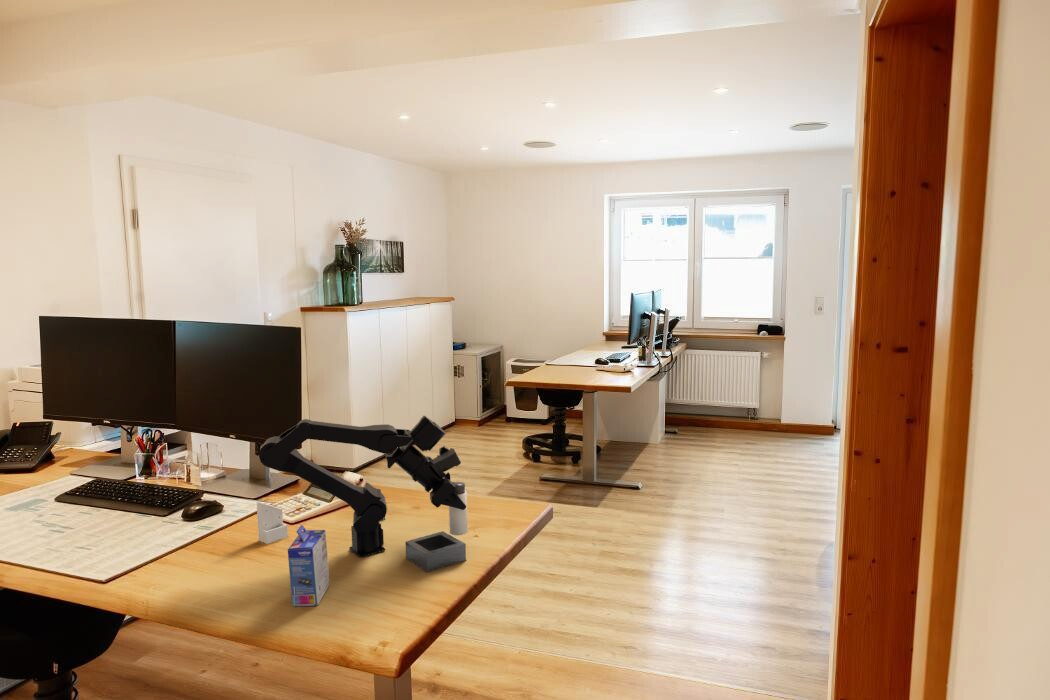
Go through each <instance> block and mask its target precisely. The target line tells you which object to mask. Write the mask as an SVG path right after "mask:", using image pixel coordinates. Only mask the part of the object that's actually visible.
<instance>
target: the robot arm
mask: <svg viewBox="0 0 1050 700" xmlns="http://www.w3.org/2000/svg"><path fill="white" fill-rule="evenodd" d="M444 436H446V432H445V430H444V429H443V428H442V427H441V426H440V425H439V424H437V423H436V422H435V421H433V420H431V419H430V418H428V417H427V416H426V415H422V417H421V418H420V419H419V421H418V422H417V423H416V424H415V426H414V427H412V429H411V430H410V429H404V428H403V429H401V428H396V427H395V426H393V425H391V424H373V425H365V426H364V425H363V426H357V425H348V424H341V423H334V422H333V423H332V422H325V421H316V420H315V421H314V420H311V419H308V418H307V419H306V418H305V419H302V420H299V422H298V423H297V424H295V425H294V426H292V427H291V428H289V429H287V430H286V431H284V432H282V433H281V434H280V435H279V436H275V435H274V436H272V437H269V438H268V439H266V440H265V441H264V443H263V444H262V446H261V448H260V450H259V453H258V458H259V461H260V463H261V464H262V465H263V466H264V467H266V468H269V469H272V470H275V471H277V472H283V473H288V474H293V475H295V476H297V477H299V478H301V479H302V480H304V481H306V482H308V483H309V484H311V485H313V486H316V488H319V489H321V490H323V491H324V492H327V493H329V495H332V496H333V497H335V498H337V499H340V500H341V501H342V502H345V503H346V504H347V505H348V506H350V508H351V509H352V510H353V513H352V515H353V516H352V517H353V518H352V520H353V521H352V525H351V546H350V547H349V549H348V550H350V551H351V553H354V554H355V555H356V556H358V557H359V558H364V557H368V556H370V555H375V554H377V553H381V552H385V551H386V548H385V547H384V544H385V542H384V529H383V528H382V523H380V522H381V521H383V520H382V519H383V518H384V517H385V518H386V515H387V511H388V508H387V500H386V497H385V495H384V494H383V493H382V489H380V488H376V487H374V486H373V485H372V484H370V483H369V482H367V481H366V482H365V485H364V486H359V485H356V484H353V483H352V482H349V481H348V480H346V479H344V478H343V477H341V476H339V475H337V474H335V473H334V472H331V471H330V470H328V469H326V468H324V467H322V466H320V465H319V464H318V463H315V462H314V461H312V460H310V459H308V458H307V457H305V456H303V454H301V453H300V451H299V450H297V448H298V447H299V446H301V445H302V444H303V443H305V442H306V441H307V440H313V441H323V442H332V443H341V444H348V445H357V446H361V447H364V448H365V449H368V450H371V451H374V452H376V453H377V452H378V453H381V454H385V459H386V467H387V469H391V468H392V467H393V466H394V464H396V465H397V466H398V467H399V468H401V469H402V470H403V471H404V472H406V473H407V474H408V475H409V476H410V477H411V480H413V481H414V482H415V483H416V482H417V483H419V484H420V485H421V486H422V487H423V488H424V491H425V492H427V493H429V499H430V502H431V504H432V505H433V506H434V507H435V508H437V509H438V508H440V507H441V506H447V507H449V506H450V507H454V508H458V509H461V510H464V509H465V508H466V505H465V504H464V503H463V501H462V500H461V499H460V498H459V496H458V495H457V494H456V493H455V488H456V487H455V484H454V482H455V481H452V480H451V474H450V472H449V470H451V469H453V468H454V467H458V466H459V465H461V463H462V461H461V460H460V458H459V455H458V454H457V452H456V450H455V449H454V448H452V447H450V448H448V447H447V446H445V445H443V446H442V447H439V450H438V455H436V457H435V458H432V457H431V456H426V455H424V454H423V453H422V452H427V451H431V450H432V449H434V447H435V446H436V445H437V444H438V443H439V442H440V441H441V440H442V439H443V437H444ZM414 445H415V446H416V447H417V448H416V447H415V446H414ZM420 450H421V451H422V452H421V451H420ZM446 472H447V473H446Z"/></svg>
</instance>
